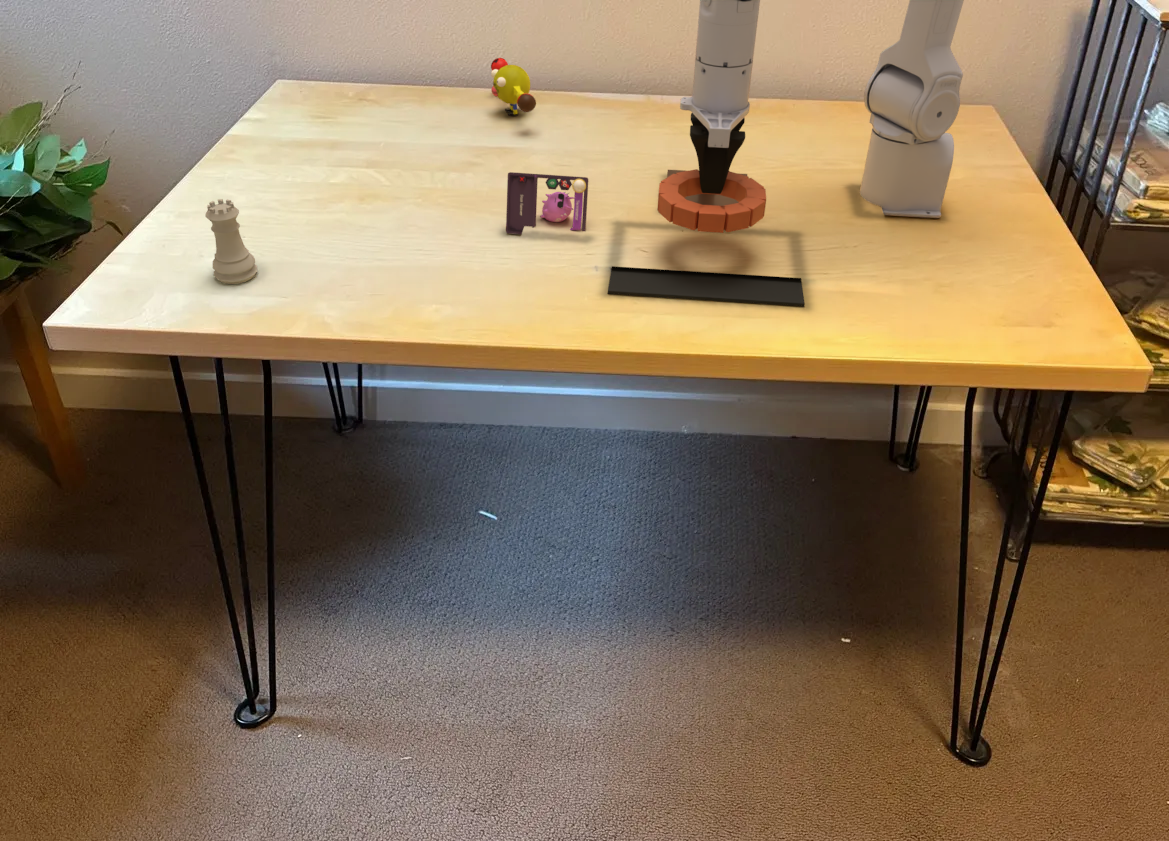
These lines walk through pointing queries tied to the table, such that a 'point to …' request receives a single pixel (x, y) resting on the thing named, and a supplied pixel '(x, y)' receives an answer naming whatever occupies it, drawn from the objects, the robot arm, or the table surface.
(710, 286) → the tray
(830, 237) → the table surface
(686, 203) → the ring
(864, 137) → the table surface
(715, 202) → the stand
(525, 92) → the toy figure
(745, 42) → the robot arm
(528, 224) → the game card
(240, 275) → the rook chess piece
